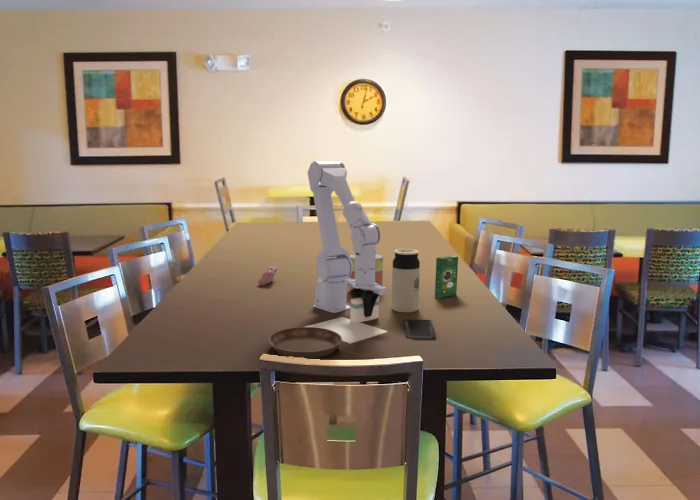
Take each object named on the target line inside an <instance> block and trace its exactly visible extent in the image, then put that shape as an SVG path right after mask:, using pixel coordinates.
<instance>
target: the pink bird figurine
mask: <svg viewBox="0 0 700 500" xmlns="http://www.w3.org/2000/svg"><path fill="white" fill-rule="evenodd" d="M277 271H278V268H277V267H275V266H272V265H271V266H269V267H268V268H267V269H266V271H265V272H264V273H263V274H262V275H261V278H260V279H258V281H257V284H258V286H259V285H263V286H265V285H267V284H268V285H270V283H271V282H272V281H273V280H274V279H275V278H276V273H277Z"/></svg>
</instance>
